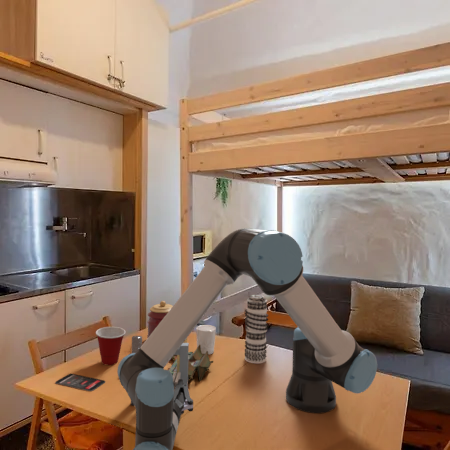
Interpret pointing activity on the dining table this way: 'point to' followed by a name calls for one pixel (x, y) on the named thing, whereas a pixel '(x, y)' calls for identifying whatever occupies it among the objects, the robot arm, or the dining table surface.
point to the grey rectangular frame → (183, 365)
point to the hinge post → (136, 347)
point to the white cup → (206, 338)
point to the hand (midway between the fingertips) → (177, 376)
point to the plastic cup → (110, 344)
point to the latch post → (179, 359)
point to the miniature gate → (194, 363)
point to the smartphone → (80, 382)
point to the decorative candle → (256, 329)
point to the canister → (157, 315)
